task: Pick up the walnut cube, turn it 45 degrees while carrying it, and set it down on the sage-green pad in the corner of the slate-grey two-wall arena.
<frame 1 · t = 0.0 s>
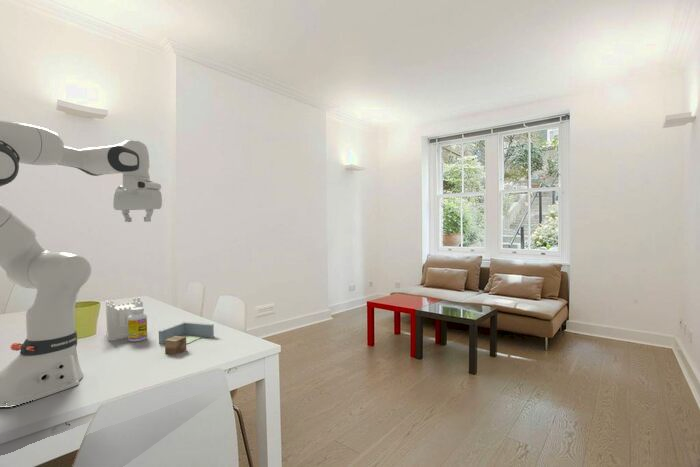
hand: (137, 221, 135), 48 cm above the table, tool pointing down, fingers open, 8 cm apart
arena: (188, 339, 146), on the table
supplement bottle: (138, 340, 146), on the table
castle model: (125, 334, 155), on the table
walnut cube: (175, 351, 132), on the table
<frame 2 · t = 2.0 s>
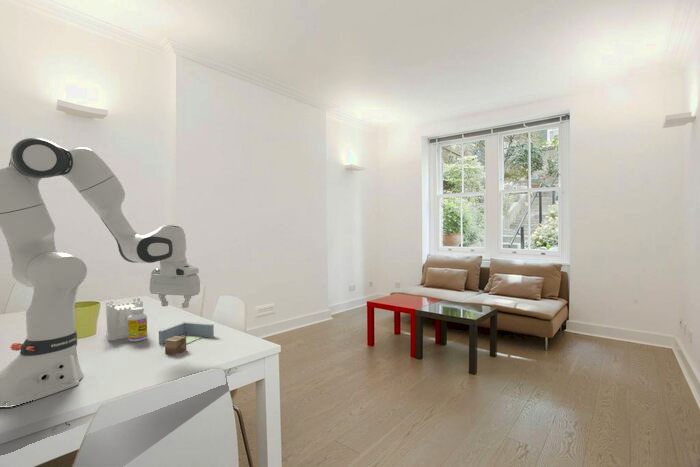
hand: (175, 306, 131), 17 cm above the table, tool pointing down, fingers open, 8 cm apart
nothing on the table moved.
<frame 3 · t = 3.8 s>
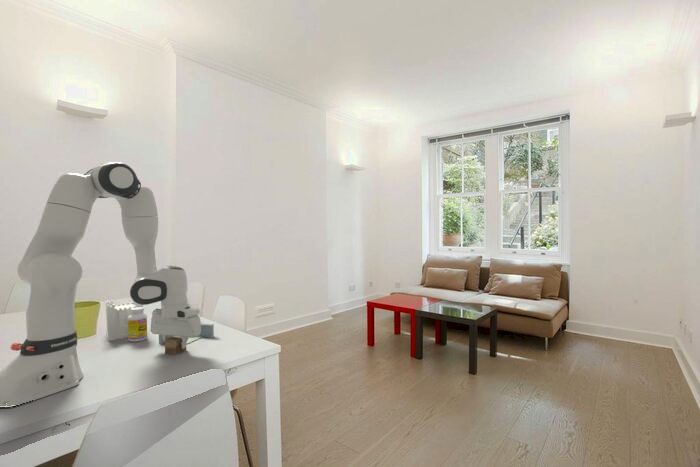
hand: (175, 347, 132), 2 cm above the table, tool pointing down, fingers closed on walnut cube, 5 cm apart
walnut cube: (175, 351, 132), on the table, touching gripper
everything else where it was.
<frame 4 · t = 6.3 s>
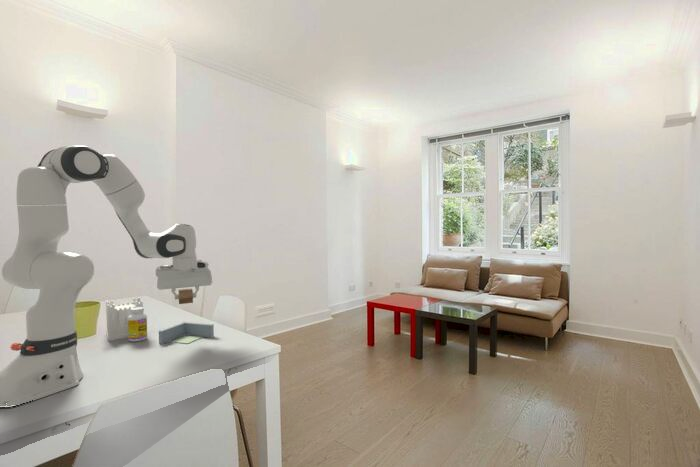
hand: (185, 298, 144), 17 cm above the table, tool pointing down, fingers closed on walnut cube, 5 cm apart
walnut cube: (185, 302, 144), point 15 cm above the table, touching gripper
everything else where it was.
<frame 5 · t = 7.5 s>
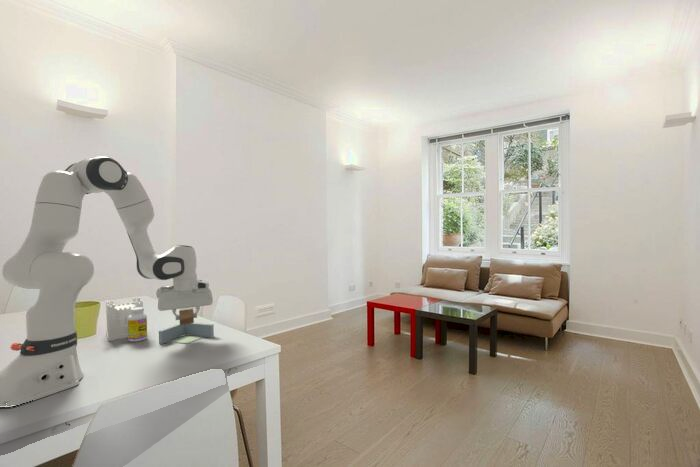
hand: (186, 318, 145), 9 cm above the table, tool pointing down, fingers closed on walnut cube, 5 cm apart
walnut cube: (186, 322, 145), point 7 cm above the table, touching gripper
everything else where it was.
when the fingers open (4 cm above the table, at t = 8.7 s): walnut cube drops 2 cm, resting on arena.
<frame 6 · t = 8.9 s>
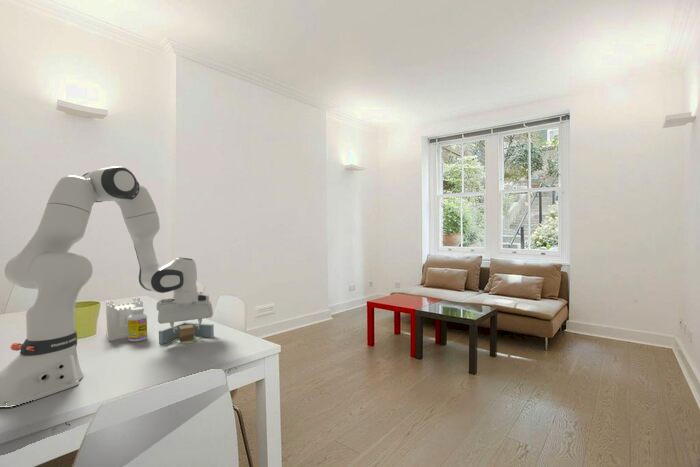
hand: (186, 331, 145), 4 cm above the table, tool pointing down, fingers open, 7 cm apart
walnut cube: (186, 339, 145), resting on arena
everything else where it was.
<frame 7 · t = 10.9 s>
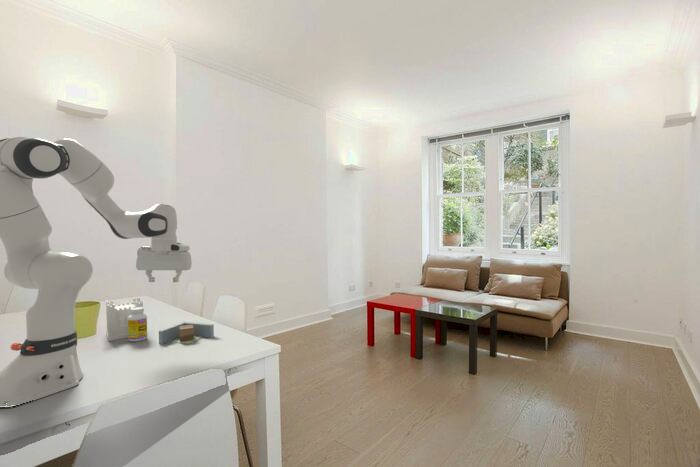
hand: (163, 282, 139), 25 cm above the table, tool pointing down, fingers open, 8 cm apart
nothing on the table moved.
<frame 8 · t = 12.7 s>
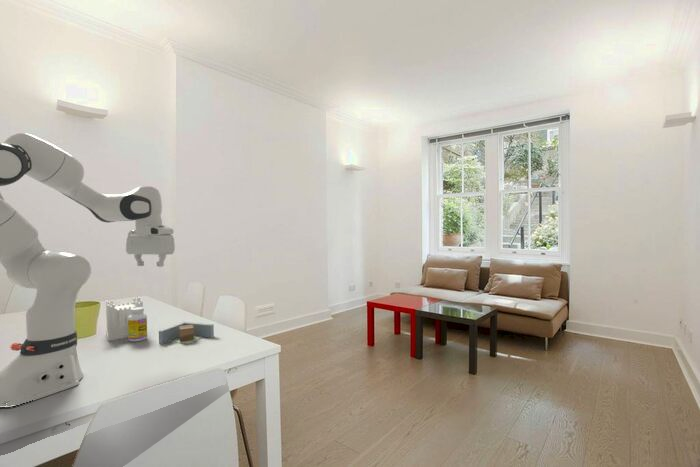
hand: (150, 266, 135), 31 cm above the table, tool pointing down, fingers open, 8 cm apart
nothing on the table moved.
at the end: walnut cube inside the target area (0.1 cm from its centre), resting on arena; walnut cube tilted 0°; the gripper is holding nothing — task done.
